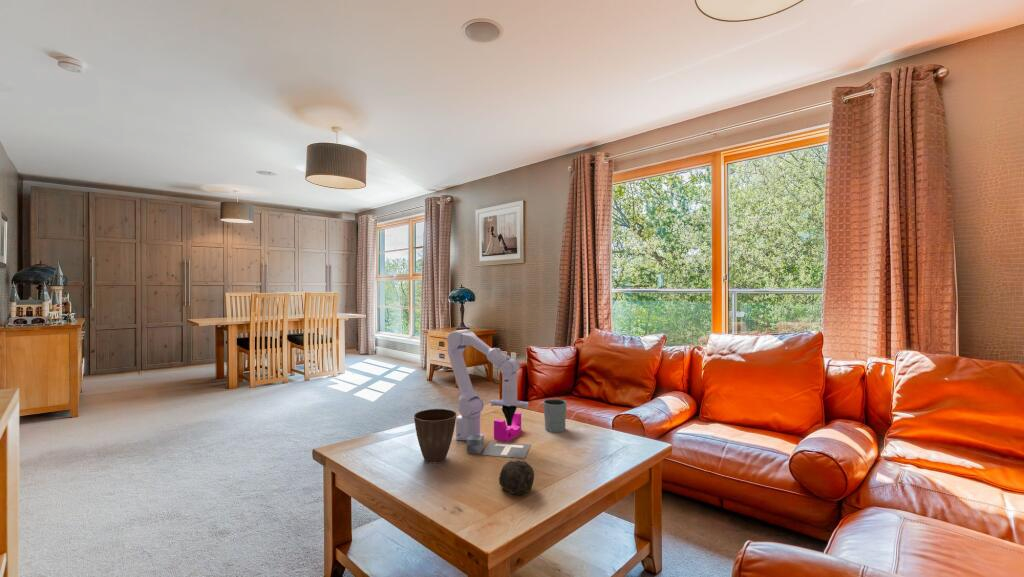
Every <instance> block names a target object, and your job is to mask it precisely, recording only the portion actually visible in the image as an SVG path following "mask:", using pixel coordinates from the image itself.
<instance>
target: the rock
mask: <svg viewBox="0 0 1024 577" xmlns="http://www.w3.org/2000/svg"><path fill="white" fill-rule="evenodd" d="M534 481H535V471H534V468H533V467H532V466H531V465H530V464H529V463H528V462H526V461H525V460H524V461H522V460H520V459H518V460H514V461H513V460H510V461H507V462H506V463H505V464H504V465H503V467H502V469H501V470H500V474H499V477H498V483H499V485H500V486H501V487H502V488H503V490H505V491H507V492H508V493H509V494H511V495H515V496H521V495H523V494H525V493H527V492H531V491H532V488H533V486H534Z"/></svg>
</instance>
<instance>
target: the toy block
mask: <svg viewBox="0 0 1024 577" xmlns="http://www.w3.org/2000/svg"><path fill="white" fill-rule="evenodd" d="M521 431H522V412H517V411H515V413H514V416H513V420H512V425H511V426H507V422H506V419H505V420H504V419H501V418H496V419H494V420H493V439H494V440H498V441H499V440H500V441H501V442H505V443H508V441H511V440H512V439H514V438H516V437H518V436H520V435H521Z"/></svg>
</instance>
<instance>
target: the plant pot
mask: <svg viewBox="0 0 1024 577" xmlns="http://www.w3.org/2000/svg"><path fill="white" fill-rule="evenodd" d="M413 419H414V426H415V427H414V428H415V431H416V432H415V434H416V436H417V441H418V445H419V447H420V448H419V449H420V451H421V454H422V455H421V456H422V457H423V460H424V462H426V463H430V464H439V463H442V462H444V461H445V460H446V459H447V456H448V453H449V450H450V448H451V447H450V446H451V443H452V440H453V436H454V433H455V428H456V421H457V412H456V411H454V410H451V409H446V408H431V409H425V410H421V411H418V412H417V411H416V413H414V414H413Z"/></svg>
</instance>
